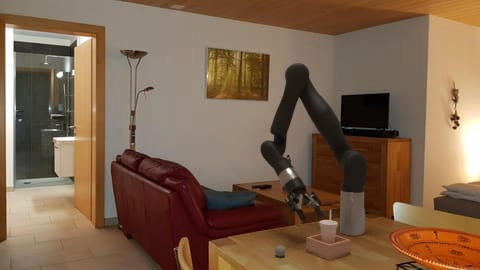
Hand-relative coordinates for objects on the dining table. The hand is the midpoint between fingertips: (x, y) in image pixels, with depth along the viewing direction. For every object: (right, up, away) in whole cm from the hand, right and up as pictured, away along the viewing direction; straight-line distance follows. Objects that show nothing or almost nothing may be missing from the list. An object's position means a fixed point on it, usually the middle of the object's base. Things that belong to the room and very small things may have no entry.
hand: (313, 218), depth 143 cm
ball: (-13, -11, -9) cm, 19 cm away
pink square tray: (+4, -11, -5) cm, 13 cm away
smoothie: (+4, -10, -5) cm, 12 cm away
